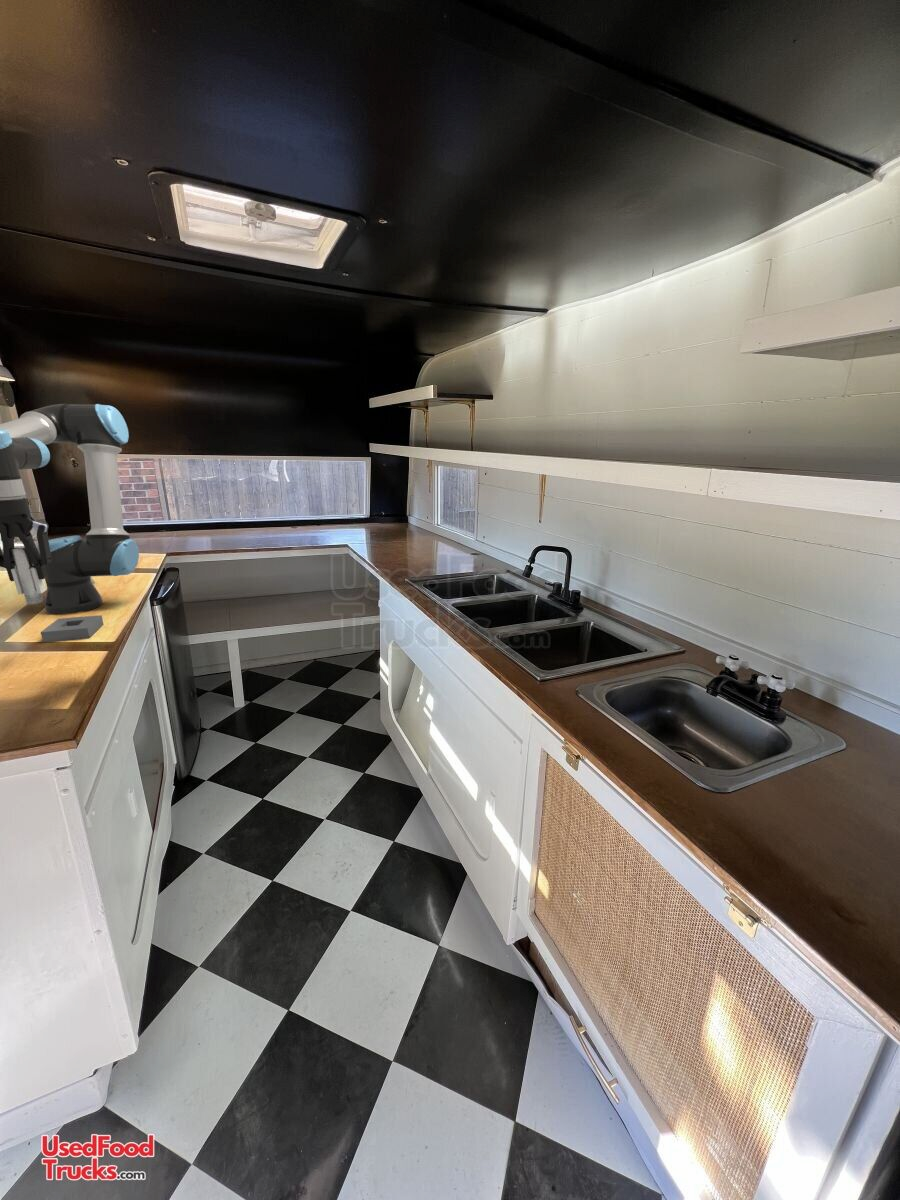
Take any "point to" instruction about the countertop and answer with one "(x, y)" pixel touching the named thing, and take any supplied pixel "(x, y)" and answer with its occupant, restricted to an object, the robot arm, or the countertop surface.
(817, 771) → the countertop surface
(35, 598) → the steel peg
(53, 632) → the socket block
